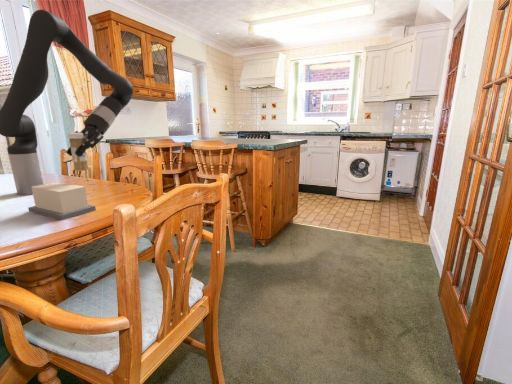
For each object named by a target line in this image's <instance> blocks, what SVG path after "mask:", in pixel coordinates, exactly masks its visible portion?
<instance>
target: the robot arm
mask: <svg viewBox="0 0 512 384" xmlns="http://www.w3.org/2000/svg"><path fill="white" fill-rule="evenodd" d="M24 42H25V43H24V46H23V49H22V53H21V55H20V59H19V60H18V61H19V62H18V64H17V67H16V70H15V73H14V76H13V78H12V79H13V80H12V82H11V85H10V88H9V90H8V93H7V96H6V98H5V100H4V101H3V104H2V106H1V108H0V135H1V136H3V137H5V138H14V142H13V143H12V144H11V145H9V146H7V148H6V151H7V155H8V159H9V163H10V167H11V171H12V176H13V180H14V184H15V189H16V193H17V195H19V196H26V195H33V192H32V187H33V186H38V185H44V180H43V177H42V176H43V175H42V171H41V166H40V160H39V156H38V151H37V149H38V139H37V138H38V137H37V132H36V131H37V130H36V126H35V123H34V121H33V120H32V118H31V117H30V116H28V115H27V114H24V113H25V111H26V109H27V108H28V107H29V106H30V105H31V104H32V103H33V102H34V101H36V100H37V99H38V98H39V97H40V96H41V95H42V94H43V92H44V90H45V88H46V85H47V82H48V79H49V67H48V65H49V64H48V54H49V51H50V48H51V45H52V44H53V43H57V44H59V45H60V46H62V47H63V48H64V49H66V50H67V51H68V52H69V53H70V54H72V55H73V56H74V57H75V58H76V60H77V61H78V62H79V64H80V65H81V66H82V68H84V70H86V71H87V73H89V75H91V76H92V77H93V78H94V79H95V80H97V81H98V82H99V83H100V84H101V85H103V86H107V85H109V86H110V87H112V88H113V90H112V92H111V93H110V95H109V96H105V98H104V99H102V100H101V102H100V103H99V104H98V105H97V106H96V107H95V108H94V109H93V110H92V112H90V114H88V116H87V117H86V119H85V120H84V121H83V125H84V128H83V129H81V131H80V132H79V131H78V130H76V131H74V133H83V135H84V138H83V142H82V145H80V146H79V148H78V149H77V150H76V151H75V154H76V155H77V156H79V157H81V156H82V155H83V153H84V152H85V151H87V150H90V148H91V149H93V148H95V146H96V145H97V144H98V143H100V142H101V141H102V140H103V138H104V135H105V134H106V133H107V131H108V130H109V129H110V127H111V126H112V125H113V124H114V122H115V121H116V118H117V117H118V115H119V114H120V113H121V112H122V110H123V109H124V108H125V107H126V106H127V105H128V104H129V103H130V101H132V98H133V97H132V96H133V94H134V86H133V84H132V83H131V82H130V81H129V79H127V78H126V77H124V76H123V75H121V74H119V73H117V71H114V70H113V69H112V68H110V67H109V66H108V65H107V64H106V63H105V62H104V61H103V60H102V59H101V58H100V57H98V55H96V54H95V53H94V52H93V51H92V50H91V49H89V48H88V46H87V45H85V44H84V43H83V41H82V40H81V39H80V38H79V37H78V36H77V35H76V33H75V32H74V31H73V30H72V29H71V27H70V26H69V25H68V24H67V23H66V21H64V19H62V18H61V17H60V16H58V15H56V14H54V13H52V12H50V11H47V9H37V10H35V11H34V12H33V13H32V14H31V16H30V19H29V24H28V28H27V33H26V39H25V41H24ZM65 153H66V154H67V155H68V156H71V157H72V153H71V145H70V146H69V147H68V148H67V150H66V151H65Z"/></svg>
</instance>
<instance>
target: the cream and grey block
mask: <svg viewBox="0 0 512 384" xmlns="http://www.w3.org/2000/svg"><path fill="white" fill-rule="evenodd" d="M32 192H33V194H32V196H33V200H34V206H33V205H32V206H29V207H28V208H27V209H28V212H29V213H33V214H37V215H41V216H45V217H49V218H52V219H56V220H60V221H64V220H68V219H71V218H75V217H76V216H78V217H79V216H81V215H85V214H87V213H92V212H94V211H96V210H97V209H96V206H95V205H91V204H88V203H89V202H88V197H87V191H86V187H85V186H83V185H76V184H70V183H64V182H59V181H58V182H57V181H56V182H50V183H45V184H44V183H43V185H38V186H33V187H32Z"/></svg>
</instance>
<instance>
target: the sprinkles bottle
mask: <svg viewBox="0 0 512 384" xmlns="http://www.w3.org/2000/svg"><path fill="white" fill-rule="evenodd" d="M67 137H68V140H69V143H70V146H71V153H72V156H71V157H72V162H73V170H74V171H76V172H77V171H78V172H83V171H84V172H85V171H88V170H89V166H88V165H89V164H88V158H87V157H88V156H87V152H86V151H87V150H86V151H85V152H84V153H83V155H82V156H81V157H79V156H77V155H76V154H75V151H76V150H77V149H78V148H79V146H80V145H82V142H83V138H84V135H83V133H75V132H69V133H67Z"/></svg>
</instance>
